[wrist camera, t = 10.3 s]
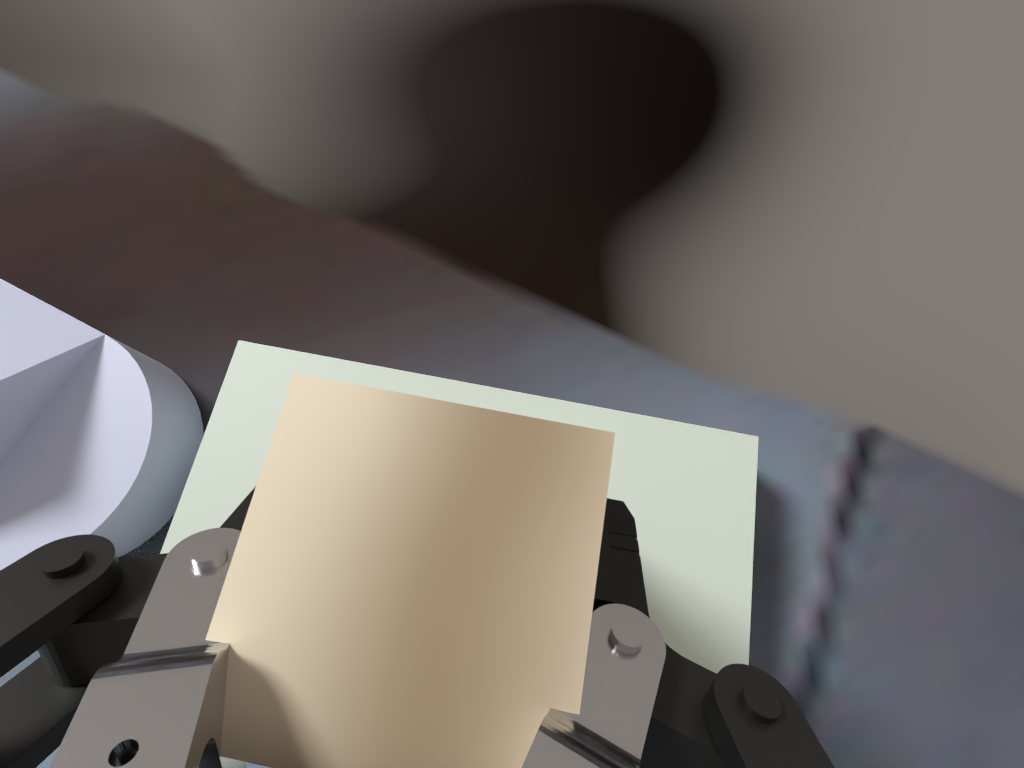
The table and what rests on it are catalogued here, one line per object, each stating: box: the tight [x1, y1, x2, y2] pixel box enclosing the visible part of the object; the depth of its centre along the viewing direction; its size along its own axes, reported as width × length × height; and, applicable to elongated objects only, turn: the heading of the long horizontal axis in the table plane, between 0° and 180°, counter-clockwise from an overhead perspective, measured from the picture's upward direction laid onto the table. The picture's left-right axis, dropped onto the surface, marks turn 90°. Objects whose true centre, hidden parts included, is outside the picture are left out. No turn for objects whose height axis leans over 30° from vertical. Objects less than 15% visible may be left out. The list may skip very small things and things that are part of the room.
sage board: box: [160, 340, 758, 674], centre depth 19 cm, size 20×12×3 cm, turn 80°
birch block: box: [205, 373, 615, 768], centre depth 11 cm, size 5×5×9 cm
